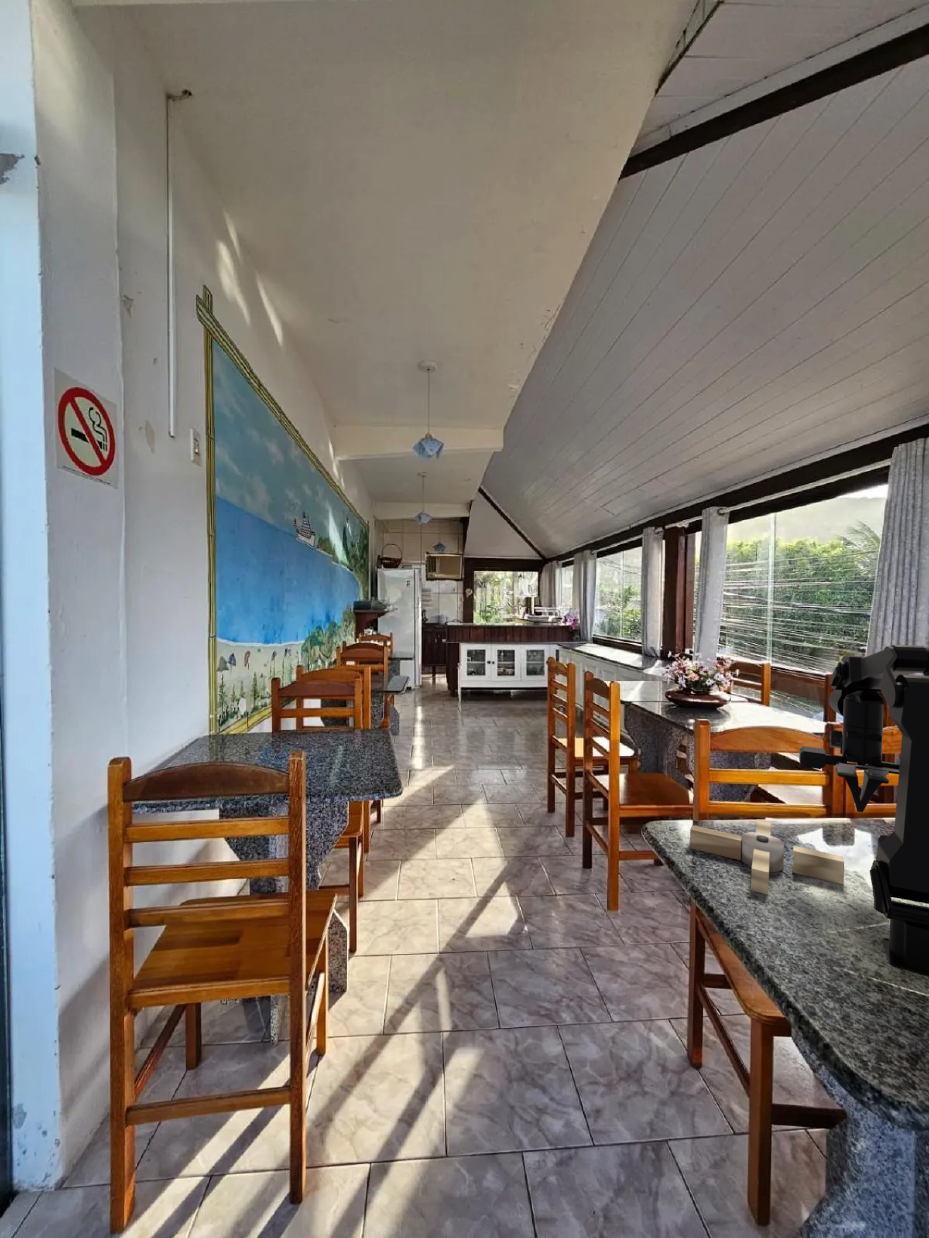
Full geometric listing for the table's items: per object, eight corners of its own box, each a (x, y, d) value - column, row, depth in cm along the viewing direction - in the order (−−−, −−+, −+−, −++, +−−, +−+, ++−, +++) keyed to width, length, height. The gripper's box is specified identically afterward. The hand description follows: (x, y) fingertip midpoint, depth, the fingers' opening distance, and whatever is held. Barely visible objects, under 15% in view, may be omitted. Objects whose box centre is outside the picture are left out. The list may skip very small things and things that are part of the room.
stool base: (783, 900, 86) (784, 870, 86) (680, 872, 94) (681, 845, 94) (783, 843, 107) (783, 819, 107) (699, 825, 116) (699, 803, 116)
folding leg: (792, 872, 95) (793, 850, 95) (792, 866, 97) (793, 845, 97) (843, 884, 91) (844, 862, 91) (842, 878, 93) (843, 856, 93)
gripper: (920, 724, 96) (917, 808, 96) (799, 712, 105) (797, 788, 106) (935, 736, 86) (932, 829, 86) (801, 721, 96) (798, 805, 96)
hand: (859, 811), depth 94 cm, fingers closed
